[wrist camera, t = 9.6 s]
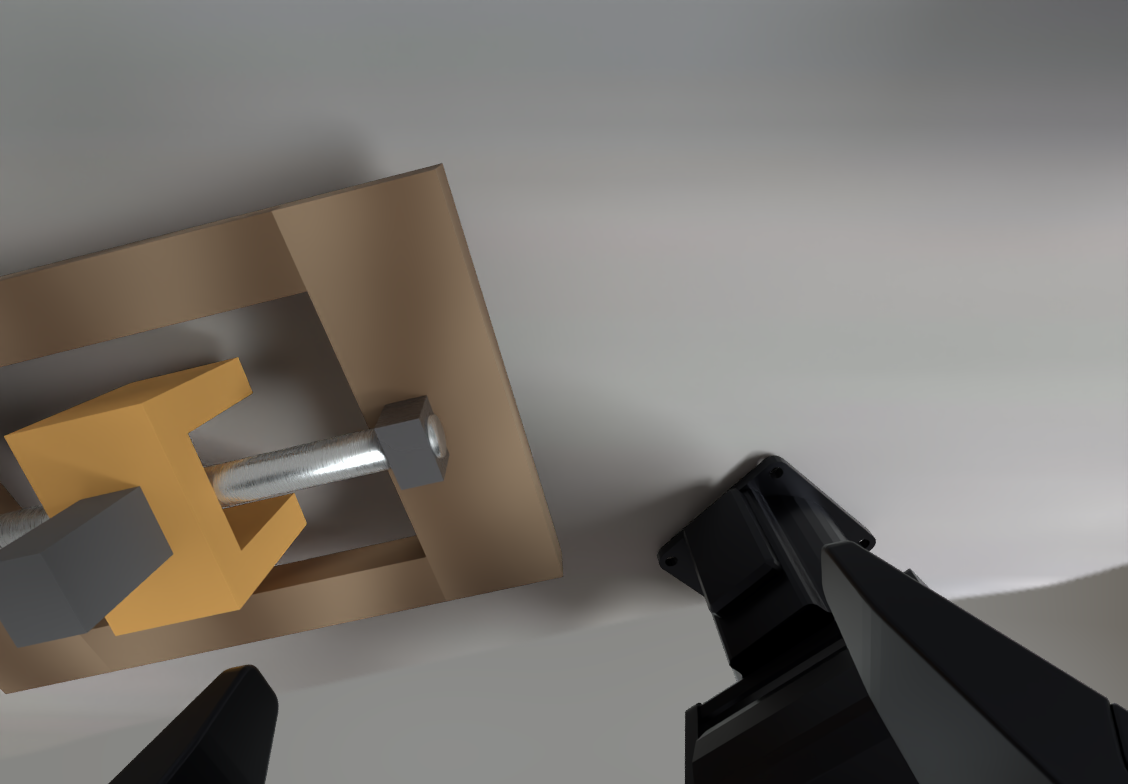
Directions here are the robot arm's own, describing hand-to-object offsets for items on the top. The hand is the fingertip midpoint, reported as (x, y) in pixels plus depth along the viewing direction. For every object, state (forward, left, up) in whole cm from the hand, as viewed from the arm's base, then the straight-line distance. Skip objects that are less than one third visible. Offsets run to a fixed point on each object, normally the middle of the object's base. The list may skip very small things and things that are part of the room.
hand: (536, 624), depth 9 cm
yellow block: (+5, +9, -10) cm, 15 cm away
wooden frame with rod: (+6, +9, -12) cm, 16 cm away
